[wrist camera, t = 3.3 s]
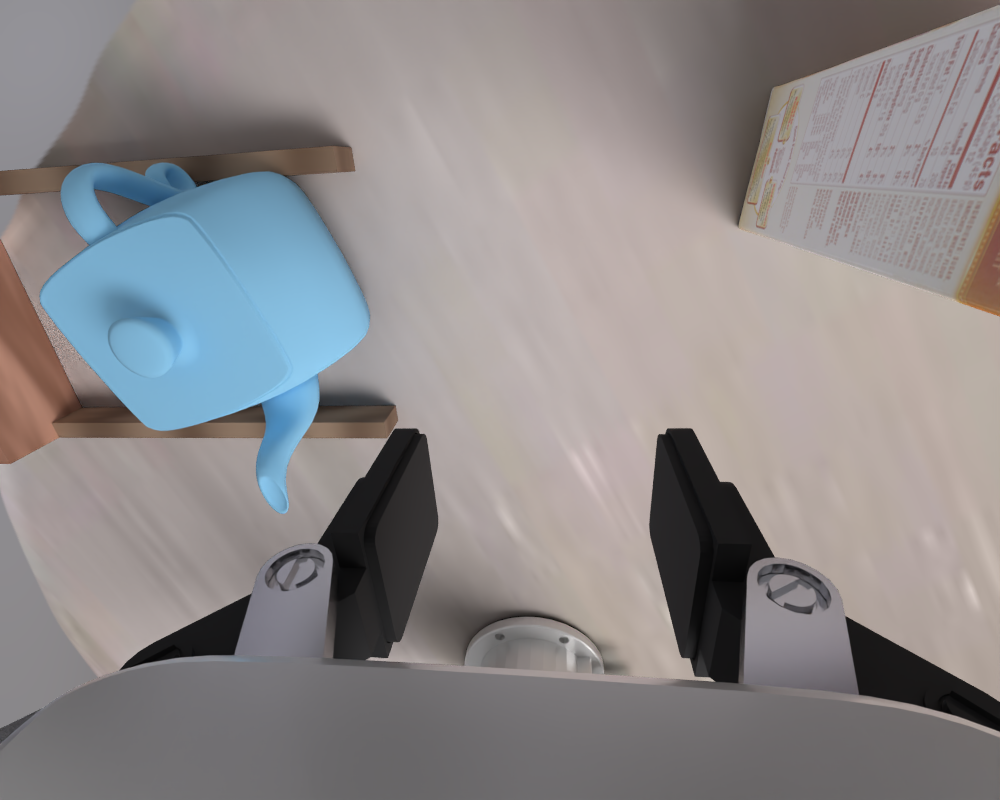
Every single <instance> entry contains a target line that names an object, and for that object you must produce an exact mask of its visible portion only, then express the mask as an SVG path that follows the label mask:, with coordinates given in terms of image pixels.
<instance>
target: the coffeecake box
mask: <svg viewBox="0 0 1000 800" xmlns="http://www.w3.org/2000/svg"><path fill="white" fill-rule="evenodd" d="M738 228H739V229H742V230H745V231H748V232H751V233H754V234H756V235H760V236H763V237H766V238H769V239H772V240H775V241H778V242H781V243H784V244H787V245H790V246H793V247H796V248H799V249H801V250H804V251H807V252H810V253H813V254H816V255H819V256H822V257H825V258H828V259H831V260H834V261H837V262H840V263H843V264H846V265H849V266H851V267H854V268H857V269H860V270H863V271H866V272H869V273H872V274H875V275H878V276H881V277H884V278H887V279H890V280H893V281H896V282H899V283H902V284H905V285H908V286H911V287H914V288H917V289H920V290H923V291H926V292H929V293H932V294H935V295H938V296H941V297H944V298H947V299H950V300H953V301H956V302H959V303H962V304H965V305H968V306H971V307H974V308H977V309H980V310H982V311H985V312H988V313H991V314H994V315H997V316H1000V5H997V6H995V7H992V8H989V9H986V10H984V11H981V12H978V13H976V14H973V15H971V16H968V17H965V18H963V19H960V20H957V21H955V22H952V23H949V24H946V25H944V26H941V27H938V28H936V29H933V30H931V31H928V32H925V33H922V34H919V35H917V36H914V37H911V38H909V39H906V40H904V41H901V42H898V43H896V44H893V45H890V46H888V47H885V48H883V49H880V50H877V51H874V52H871V53H869V54H866V55H863V56H860V57H857V58H855V59H852V60H849V61H847V62H844V63H842V64H839V65H836V66H833V67H831V68H828V69H825V70H822V71H820V72H817V73H814V74H811V75H809V76H806V77H803V78H800V79H797V80H794V81H791V82H789V83H786V84H783V85H780V86H775V87H774V88H773V89H772V91H771V95H770V99H769V104H768V108H767V112H766V116H765V121H764V125H763V129H762V133H761V139H760V144H759V147H758V151H757V155H756V158H755V162H754V166H753V170H752V174H751V178H750V181H749V185H748V189H747V193H746V197H745V201H744V205H743V209H742V213H741V217H740V221H739V226H738Z"/></svg>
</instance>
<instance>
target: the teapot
mask: <svg viewBox="0 0 1000 800" xmlns="http://www.w3.org/2000/svg"><path fill="white" fill-rule="evenodd" d="M94 189H97V190H102V191H107V192H111V193H114V194H117V195H120V196H123V197H126V198H129V199H132V200H135V201H137V202H140V203H143V204H146V205H149V206H150V207H148V208H146V209H145V210H143V211H141V212H139V213H137V214H136V215H134V216H132V217H130V218H129V219H127V220H126V221H124V222H123V223H121V224H120V225H118V226H116V225H115V224H114V223H113V222H112V220H111V219H110V218H109V217H108V215H107V214H106V213H105V211H104V210H103V209H102V207H101V205H100V203H99V202H98V200H97V197H96V195H95V191H94ZM61 202H62V206H63V209H64V212H65V214H66V216H67V218H68V220H69V222H70V223H71V225H72V226H73V227H74V229H75V230H76V231H77V232H78V234H79V235H80V236H81V237H82V238H83V239H84V240H85V241H86V242H87V243H88V244H89V246H88V247H87V248H85V249H84V250H83V251H81V252H80V253H79V254H77V255H76V256H75V257H73V258H72V259H71V260H70V261H68V262H67V263H66V264H64V265H63V266H62V267H61V268H60V269H59V270H57V271H56V272H55V273H54V274H53V275H52V276H51V277H50V278H49V279H48V280H47V282H46V283H45V284H44V285H43V287H42V289H41V291H40V296H39V297H40V304H41V305H42V307H43V308H44V310H45V311H46V313H47V314H48V315H49V317H50V318H51V319H52V321H53V322H54V323H55V324H56V326H57V327H58V328H59V330H60V331H61V332H62V333H63V335H64V336H65V337H66V338H67V339H68V341H69V342H70V343H71V344H72V346H73V347H74V348H75V349H76V350H77V352H78V353H79V354H80V355H81V356H82V358H83V359H84V360H85V361H86V362H87V363H88V365H89V366H90V367H91V368H92V369H93V370H94V371H95V372H96V374H97V375H98V376H99V377H100V378H101V379H102V380H103V381H104V383H105V384H106V385H107V386H108V387H109V388H110V389H111V391H112V392H113V393H114V394H115V395H116V396H117V397H118V398H119V399H120V400H121V401H122V403H123V404H124V405H125V406H126V407H127V408H128V409H129V410H130V411H131V412H132V413H133V414H134V415H135V416H136V417H137V418H138V419H139V420H140V421H141V422H142V423H143V424H144V425H145V426H146V427H148V428H151V429H154V430H159V431H169V430H175V429H181V428H185V427H189V426H193V425H197V424H200V423H203V422H207V421H210V420H213V419H216V418H219V417H222V416H226V415H229V414H232V413H235V412H238V411H240V410H243V409H246V408H248V407H251V406H254V405H256V404H259V403H261V404H262V407H263V410H264V414H265V420H266V430H265V435H264V438H263V441H262V443H261V446H260V449H259V452H258V456H257V462H256V476H257V481H258V485H259V487H260V490H261V492H262V494H263V496H264V498H265V499H266V501H267V502H268V503H269V505H270V506H271V507H272V508H273V509H274V510H275V511H277V512H279V513H281V514H284V513H286V512H287V510H288V507H289V501H288V495H287V488H286V471H287V466H288V463H289V460H290V457H291V455H292V453H293V451H294V449H295V448H296V446H297V445H298V443H299V442H300V440H301V439H302V437H303V436H304V434H305V433H306V431H307V430H308V428H309V427H310V425H311V423H312V422H313V419H314V417H315V415H316V412H317V409H318V404H319V381H318V373H319V372H321V371H322V370H324V369H326V368H327V367H329V366H330V365H332V364H333V363H335V362H336V361H337V360H339V359H340V358H341V357H343V356H344V355H345V354H347V353H348V352H349V351H350V350H352V349H353V348H354V347H355V346H356V345H357V344H358V343H359V342H360V341H361V340H362V339H363V338H364V337H365V335H366V333H367V331H368V328H369V322H370V312H369V309H368V305H367V302H366V300H365V298H364V296H363V293H362V291H361V289H360V287H359V285H358V283H357V281H356V279H355V277H354V275H353V273H352V272H351V270H350V268H349V266H348V264H347V262H346V260H345V258H344V257H343V255H342V253H341V251H340V249H339V248H338V246H337V244H336V242H335V241H334V239H333V237H332V236H331V234H330V232H329V231H328V229H327V227H326V226H325V224H324V222H323V221H322V219H321V217H320V216H319V214H318V213H317V211H316V209H315V208H314V206H313V205H312V203H311V202H310V200H309V199H308V198H307V196H306V195H305V193H304V192H303V191H302V190H301V189H300V188H299V186H298V185H297V184H296V183H294V182H293V181H291V180H290V179H288V178H286V177H285V176H283V175H281V174H278V173H274V172H270V171H266V172H252V173H246V174H241V175H237V176H233V177H229V178H225V179H221V180H218V181H214V182H211V183H208V184H205V185H202V186H199V187H197V186H196V184H195V183H194V181H193V180H192V179H191V177H190V176H189V175H188V174H187V173H186V172H185V171H184V170H183V169H181V168H180V167H179V166H177V165H175V164H171V163H157V164H153V165H151V166H150V167H149V168H148V169H147V170H146V172H145V176H144V175H141V174H139V173H136V172H133V171H131V170H128V169H125V168H122V167H118V166H114V165H110V164H105V163H89V164H84V165H81V166H79V167H77V168H75V169H73V170H72V171H71V172H70V173H69V174H68V175H67V176H66V177H65V179H64V181H63V183H62V187H61Z"/></svg>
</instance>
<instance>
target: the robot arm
mask: <svg viewBox="0 0 1000 800" xmlns="http://www.w3.org/2000/svg"><path fill="white" fill-rule="evenodd" d="M649 526H650V536H651V541H652V545H653V549H654V553H655V556H656V560H657V564H658V568H659V572H660V576H661V580H662V584H663V588H664V592H665V596H666V600H667V604H668V608H669V612H670V616H671V620H672V624H673V628H674V632H675V636H676V640H677V644H678V648H679V652H680V655H681V657H682V658H690V660H691V664H692V668H693V671H694V675H695V676H696V677H710V678H711V679H713V680H714V681H715V682H710V681H695V680H680V679H664V678H649V677H634V676H619V675H604V664H603V660H602V657H601V654H600V652H599V651H598V649H597V648H596V646H595V645H594V644H593V643H592V642H591V641H590V639H589V638H588V637H586V636H585V635H583V634H582V633H581V632H579V631H578V630H576V629H574V628H572V627H570V626H568V625H566V624H564V623H560V622H557V621H554V620H551V619H545V618H540V617H515V618H509V619H505V620H501V621H498V622H495V623H493V624H490V625H488V626H487V627H485V628H484V629H482V630H481V631H479V632H478V633H477V634H476V635H475V636H474V637H473V638H472V640H471V642H470V643H469V645H468V648H467V652H466V657H465V665H464V666H458V665H441V664H423V663H405V662H386V661H368V660H366V659H368V658H370V657H378V658H388V656H389V653H390V650H391V647H392V644H393V642H400V640H401V639H402V636H403V633H404V630H405V627H406V624H407V621H408V618H409V615H410V612H411V609H412V606H413V603H414V600H415V597H416V594H417V591H418V588H419V585H420V581H421V578H422V575H423V572H424V569H425V566H426V563H427V560H428V557H429V554H430V551H431V548H432V545H433V542H434V539H435V536H436V533H437V529H438V513H437V506H436V499H435V492H434V485H433V478H432V471H431V464H430V458H429V451H428V444H427V438H426V435H425V434H420V433H419V431H418V429H395V430H394V431H393V432H392V434H391V436H390V437H389V439H388V440H387V442H386V444H385V445H384V447H383V449H382V450H381V452H380V453H379V455H378V457H377V458H376V460H375V461H374V463H373V465H372V466H371V468H370V470H369V471H368V473H367V474H366V476H365V478H364V477H363V478H360V479H359V480H358V481H357V482H356V484H355V485H354V487H353V488H352V490H351V492H350V493H349V495H348V496H347V498H346V499H345V501H344V503H343V504H342V506H341V507H340V509H339V511H338V512H337V514H336V515H335V517H334V518H333V520H332V522H331V523H330V525H329V526H328V528H327V529H326V531H325V533H324V534H323V536H322V537H321V539H320V540H319V542H318V544H312V543H309V544H300V545H296V546H293V547H290V548H287V549H285V550H283V551H281V552H279V553H277V554H276V555H275V556H273V557H272V558H271V559H269V560H268V561H267V562H266V563H265V564H264V565H263V567H262V568H261V569H260V571H259V573H258V575H257V577H256V581H255V584H254V588H253V591H252V594H250V595H248V596H246V597H244V598H242V599H240V600H238V601H236V602H234V603H232V604H230V605H228V606H226V607H224V608H222V609H220V610H218V611H216V612H214V613H212V614H210V615H208V616H206V617H204V618H202V619H200V620H198V621H196V622H194V623H192V624H190V625H188V626H186V627H184V628H182V629H180V630H178V631H176V632H174V633H172V634H170V635H168V636H166V637H164V638H162V639H160V640H158V641H156V642H154V643H152V644H151V645H149V646H148V647H146V648H144V649H143V650H141V651H139V652H138V653H137V654H136V655H134V656H133V657H132V658H131V659H130V660H128V661H127V662H126V663H125V664H124V666H123V667H122V668H121V669H120V670H119V671H116V672H113V673H110V674H107V675H104V676H102V677H99V678H96V679H93V680H91V681H89V682H87V683H84V684H82V685H80V686H77V687H75V688H73V689H72V690H70V691H68V692H66V693H65V694H63V695H61V696H59V697H58V698H56V699H55V700H53V701H52V702H50V703H49V704H48V705H46V706H45V707H44V708H42V709H40V710H38V711H35V712H33V713H31V714H29V715H27V716H25V717H23V718H21V719H19V720H17V721H15V722H13V723H11V724H9V725H7V726H4V727H2V728H0V800H1000V702H999V701H997V700H996V699H994V698H993V697H991V696H989V695H988V694H986V693H985V692H983V691H981V690H979V689H977V688H976V687H974V686H972V685H970V684H968V683H967V682H965V681H963V680H961V679H959V678H957V677H956V676H954V675H952V674H950V673H948V672H946V671H945V670H943V669H941V668H939V667H937V666H935V665H934V664H932V663H930V662H928V661H926V660H924V659H923V658H921V657H919V656H917V655H915V654H914V653H912V652H910V651H908V650H906V649H904V648H903V647H901V646H899V645H897V644H895V643H893V642H892V641H890V640H888V639H886V638H884V637H882V636H881V635H879V634H877V633H875V632H873V631H872V630H870V629H868V628H866V627H864V626H862V625H861V624H859V623H857V622H855V621H853V620H851V619H850V618H848V617H846V616H845V613H844V608H843V602H842V599H841V596H840V594H839V591H838V589H837V588H836V587H835V586H834V585H833V583H832V582H831V581H830V580H829V579H828V578H826V577H825V576H824V575H823V574H821V573H820V572H819V571H817V570H815V569H813V568H811V567H809V566H808V565H806V564H803V563H800V562H797V561H794V560H791V559H784V558H778V557H777V558H775V557H774V555H773V553H772V551H771V550H770V548H769V546H768V544H767V542H766V541H765V539H764V537H763V535H762V533H761V532H760V530H759V528H758V526H757V524H756V523H755V521H754V519H753V517H752V515H751V514H750V512H749V510H748V508H747V506H746V505H745V503H744V501H743V499H742V497H741V496H740V494H739V492H738V490H737V488H736V487H735V486H734V484H733V483H731V482H720V481H719V479H718V477H717V475H716V474H715V472H714V470H713V468H712V466H711V464H710V462H709V460H708V458H707V456H706V454H705V452H704V450H703V448H702V446H701V444H700V442H699V440H698V439H697V437H696V435H695V433H694V431H693V429H690V428H676V429H667V430H666V434H659V435H658V438H657V448H656V458H655V469H654V480H653V490H652V501H651V511H650V523H649Z"/></svg>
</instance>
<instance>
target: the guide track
mask: <svg viewBox="0 0 1000 800" xmlns="http://www.w3.org/2000/svg"><path fill="white" fill-rule="evenodd" d="M157 163H171V164H175V165H177V166H179V167H180V168H181V169H183V170H184V171H185V172H186V173H187V174H188V175H189V176H190V177H191V179H192V180H193V181H194V182H204V181H218V180H221V179H225V178H229V177H233V176H237V175H241V174H246V173H252V172H266V171H270V172H274V173H278V174H281V175H283V176H292V175H307V174H322V173H336V172H351V171H355V166H354V160H353V154H352V149H351V148H350V147H339V146H325V147H312V148H299V149H286V150H272V151H259V152H246V153H233V154H219V155H206V156H193V157H180V158H166V159H153V160H140V161H126V162H113V163H105V164H110V165H114V166H118V167H122V168H125V169H128V170H131V171H133V172H136V173H139V174H141V175H144V176H145V172H146V170H147V169H148V168H149V167H150V166H151V165H153V164H157ZM79 166H81V165H73V166H60V167H47V168H34V169H20V170H8V171H0V195H14V194H29V193H43V192H58V191H61V187H62V183H63V181H64V179H65V177H66V176H67V175H68V174H69V173H70V172H71V171H72V170H73V169H75V168H77V167H79ZM397 421H398V417H397V412H396V406H318V409H317V412H316V415H315V417H314V419H313V422H312V423H311V425H310V427H309V428H308V430H307V431H306V433H305V434H304V436H303V437H302V438H387V437H388V436H389V434H390V433H391V431H392V429H393V428H394V426H395V425H396V423H397ZM265 430H266V420H265V414H264V410H263V407H262V406H258V407H248V408H246V409H243V410H240V411H238V412H235V413H232V414H229V415H226V416H222V417H219V418H216V419H213V420H210V421H207V422H203V423H200V424H197V425H193V426H189V427H185V428H181V429H175V430H169V431H159V430H154V429H151V428H148V427H146V426H145V425H144V424H143V423H142V422H141V421H140V420H139V419H138V418H137V417H136V416H135V415H134V414H133V413H132V412H131V411H130V410H129V409H128V408H127V407H99V408H82V407H81V405H80V403H79V400H78V398H77V396H76V394H75V392H74V390H73V388H72V386H71V384H70V382H69V380H68V378H67V376H66V374H65V372H64V370H63V368H62V365H61V363H60V361H59V359H58V357H57V355H56V353H55V351H54V349H53V347H52V345H51V343H50V341H49V339H48V337H47V335H46V333H45V330H44V328H43V326H42V324H41V322H40V320H39V318H38V316H37V314H36V312H35V310H34V308H33V306H32V304H31V302H30V300H29V298H28V295H27V293H26V291H25V289H24V287H23V285H22V283H21V281H20V279H19V277H18V275H17V273H16V271H15V269H14V267H13V265H12V263H11V260H10V258H9V256H8V254H7V252H6V250H5V248H4V246H3V244H2V242H1V240H0V464H11V463H13V462H15V461H17V460H19V459H20V458H22V457H24V456H26V455H28V454H30V453H31V452H33V451H35V450H37V449H39V448H41V447H42V446H44V445H46V444H48V443H50V442H52V441H53V440H55V439H57V438H59V437H65V438H264V435H265Z"/></svg>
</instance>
